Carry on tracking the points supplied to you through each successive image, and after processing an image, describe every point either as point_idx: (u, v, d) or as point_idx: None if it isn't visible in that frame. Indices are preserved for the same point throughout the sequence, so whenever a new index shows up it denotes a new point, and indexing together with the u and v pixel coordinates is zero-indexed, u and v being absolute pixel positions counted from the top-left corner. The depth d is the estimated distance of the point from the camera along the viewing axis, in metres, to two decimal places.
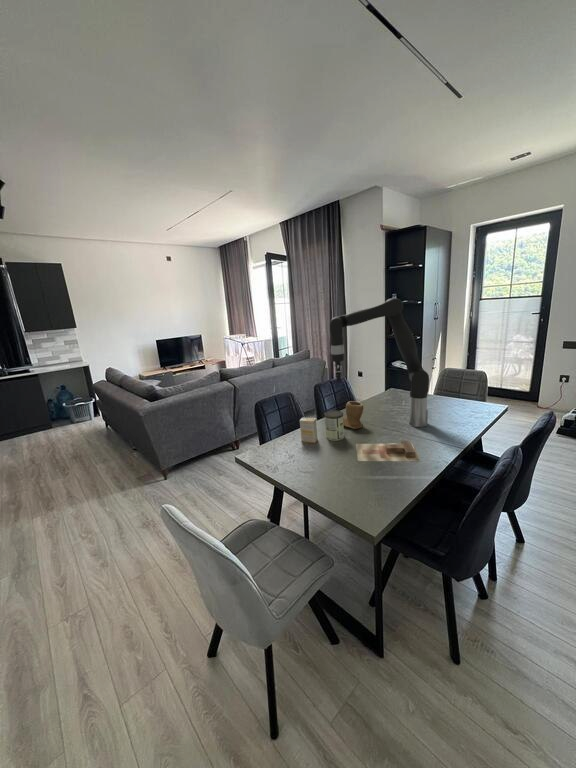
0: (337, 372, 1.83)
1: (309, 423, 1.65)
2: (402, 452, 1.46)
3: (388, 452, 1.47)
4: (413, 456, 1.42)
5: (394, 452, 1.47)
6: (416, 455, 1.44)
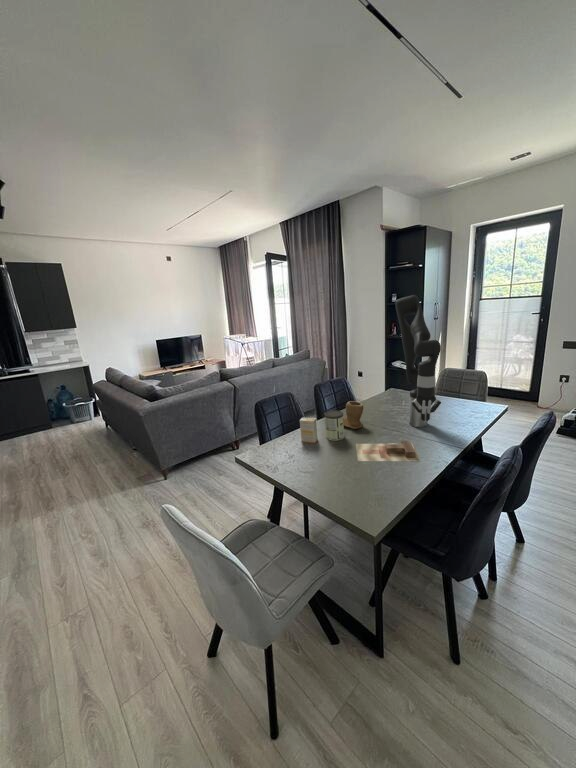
0: (424, 413, 1.41)
1: (309, 423, 1.65)
2: (402, 452, 1.46)
3: (388, 452, 1.47)
4: (413, 456, 1.42)
5: (394, 452, 1.47)
6: (416, 455, 1.44)
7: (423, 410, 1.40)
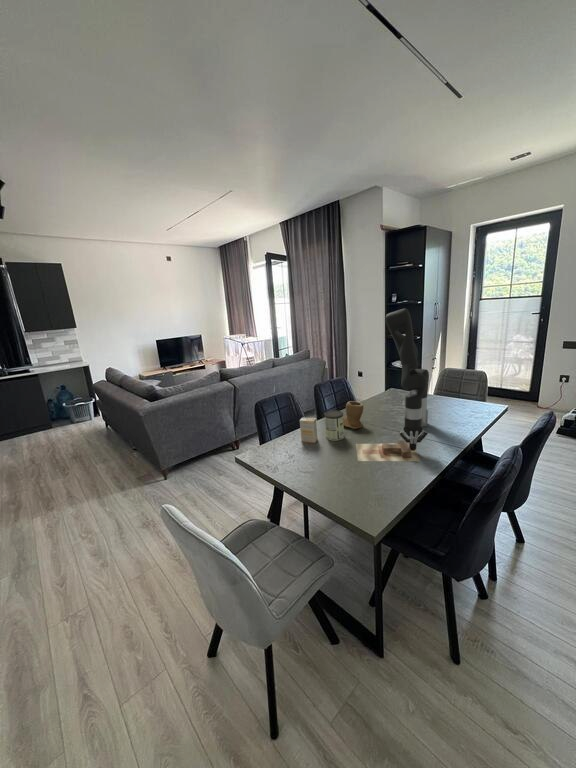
0: (413, 443, 1.45)
1: (309, 423, 1.65)
2: (399, 452, 1.46)
3: (385, 452, 1.48)
4: (409, 456, 1.42)
5: (391, 452, 1.47)
6: (416, 455, 1.44)
7: (411, 440, 1.45)
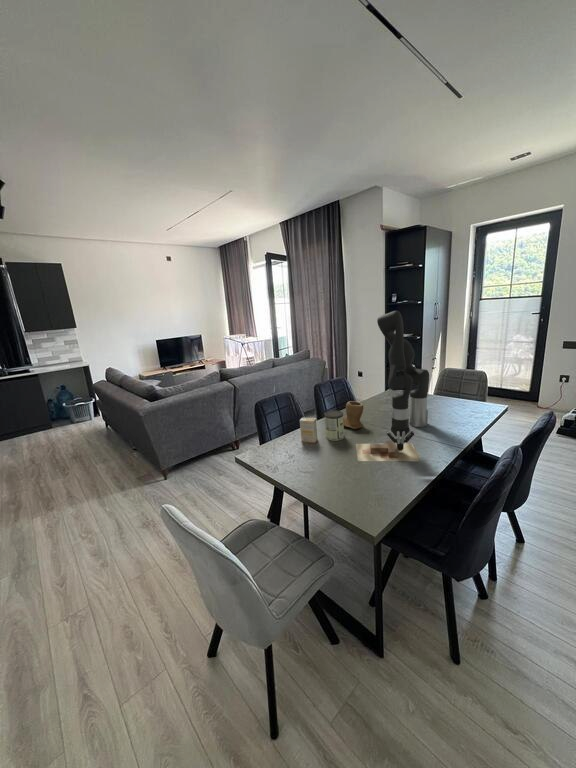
0: (400, 443, 1.46)
1: (309, 423, 1.65)
2: (386, 452, 1.48)
3: (372, 452, 1.49)
4: (396, 456, 1.43)
5: (378, 452, 1.48)
6: (416, 455, 1.44)
7: (398, 440, 1.45)
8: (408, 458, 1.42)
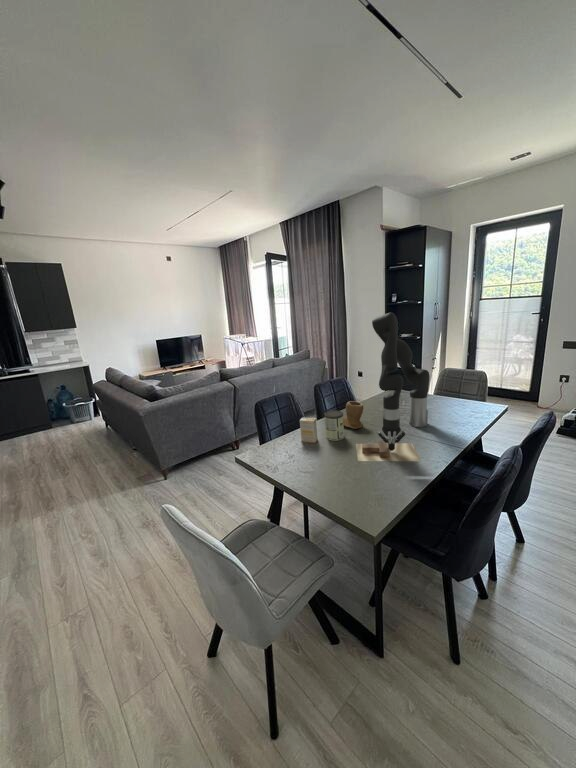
0: (391, 443, 1.47)
1: (309, 423, 1.65)
2: (377, 452, 1.49)
3: (363, 451, 1.50)
4: (387, 456, 1.44)
5: (369, 451, 1.49)
6: (416, 455, 1.44)
7: (390, 440, 1.46)
8: (408, 458, 1.42)
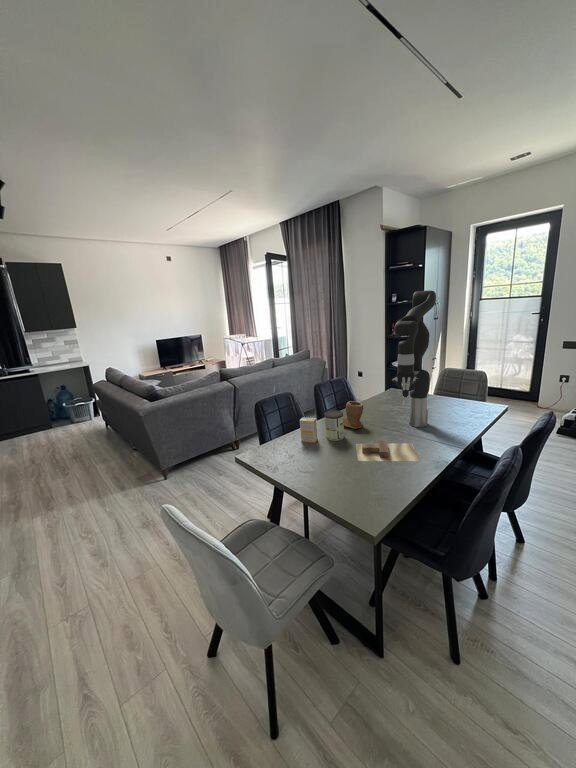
0: (405, 390, 1.52)
1: (309, 423, 1.65)
2: (377, 452, 1.49)
3: (363, 451, 1.50)
4: (387, 456, 1.44)
5: (369, 451, 1.49)
6: (416, 455, 1.44)
7: (404, 387, 1.51)
8: (408, 458, 1.42)
